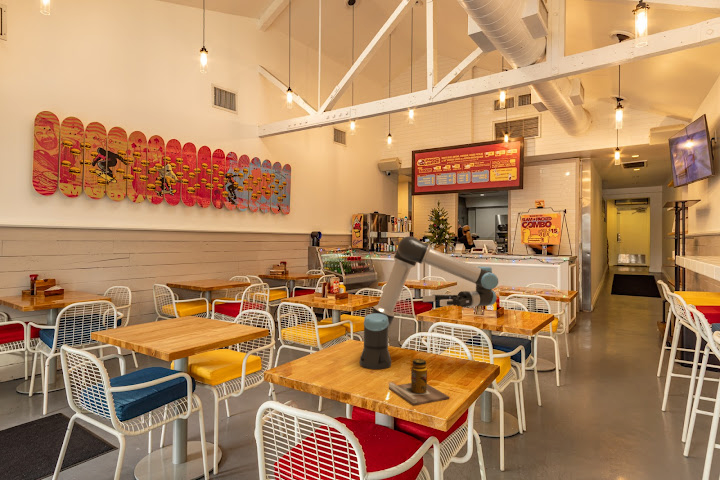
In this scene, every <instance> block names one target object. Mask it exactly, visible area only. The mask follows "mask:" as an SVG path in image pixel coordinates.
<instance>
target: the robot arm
mask: <svg viewBox="0 0 720 480" xmlns="http://www.w3.org/2000/svg"><path fill="white" fill-rule="evenodd" d="M393 259H394V264H393V267H392V269H391V272H390V274H389V276H388V279H387V281H386V283H385V285H384V287H383V291H382V292H381V296H380V298H379V301H378V304H376V305H374V306H373V307H372V310H371V313H370V314H367V315H365V317H364V320H363V349H362V352H361V355H360V358H359V365H360V366H361V367H362V368H365V369H370V370H384V369H387V368H390V367H392V359H391V354H390V351H389V331H390V329H391V326H392V323H393V320H394V319H395V315H396V314H395V312H394V310H395V308H396V306H397V303H398V301H399V299H400V296H401V293H402V291H403V288H404V286H405V283H406V281H407V279H408V276H409V274H410V271H411V269H412V268H415V267H416V264H417V263H418V264H420V265H423V264H426V265H429V266H432V267H434V268H436V269H438V270H441V271H444V272H445V273H448V274H450V275H453V276H456V277H458V278H460V279H463V280H465V281H468V282H470V283H472V284H475V290H465V291H464V290H463V291H462V290H461V291H460V292H458V293H457V294H453V295H452V294H432V295H423V296H422V302H423V303H427V302H429V303H430V302H432V303H435V302H436V301H437V302H439V306H440V307H449V306H450V307H452V306H456V307H462V308H470V307H471V308H472V309H473V308H474V307H487V306H492V305H493V306H494V304H495V303H497V299H498V298H497V294H496V292H495V291H494V290H493V289H495V288H497V286H498V284H499V277H498V276H497V275H496V274H495V273H493V271H492V270H493V268H492V267H491V266H482V265H481V266H476V265H473V264H471V263H468V262H465V261H463V260H461V259H458V258H455V257H454V256H451V255H449V254H446V253H443V252H441V251H438V250H436V249H434V248H431V247H430V245H428V244H426V243H424V242H423V241H420V239H418V238H417V237H415V236H410V235H409V236H405V237H403V238H402V239H401V240H400V241H399V242H398V245H397V248H396V251H395V254H394V256H393Z"/></svg>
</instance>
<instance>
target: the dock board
mask: <svg viewBox="0 0 720 480" xmlns="http://www.w3.org/2000/svg"><path fill="white" fill-rule="evenodd" d="M404 388H411V382H409V383H402V384H396V383H394V382H392V381H391V382H388V389H389V390H391V391H392V392H393V393H394V394H396V395H397V396H399V397H400V398H402V399H403V400H405V401H406V402H408V403H409V404H410V405H412V406H419V405H426V404H429V403H434V402H440V401H446V400H450V396H449V395H447V394H445V393H444V392H442V391H440V390H438V389H437V388H435V387H433V386H431V385H430V384H428V383H427V391H428V392H429V393H430V394H423V395H411V394H409V393H408V392H406V391H405V390H404Z"/></svg>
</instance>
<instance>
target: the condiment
mask: <svg viewBox="0 0 720 480" xmlns="http://www.w3.org/2000/svg"><path fill="white" fill-rule="evenodd" d="M411 365H412V366H411V373H410V376H411V378H410V380H411V381H410V383H411V388H404V390H405V391H406V392H408V393H409V394H411V395H423V394H430V393H429V392H428V391H427V384H428V368H427V361H426V360H425V359H422V358H415V359H413V360H412V364H411Z"/></svg>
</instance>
